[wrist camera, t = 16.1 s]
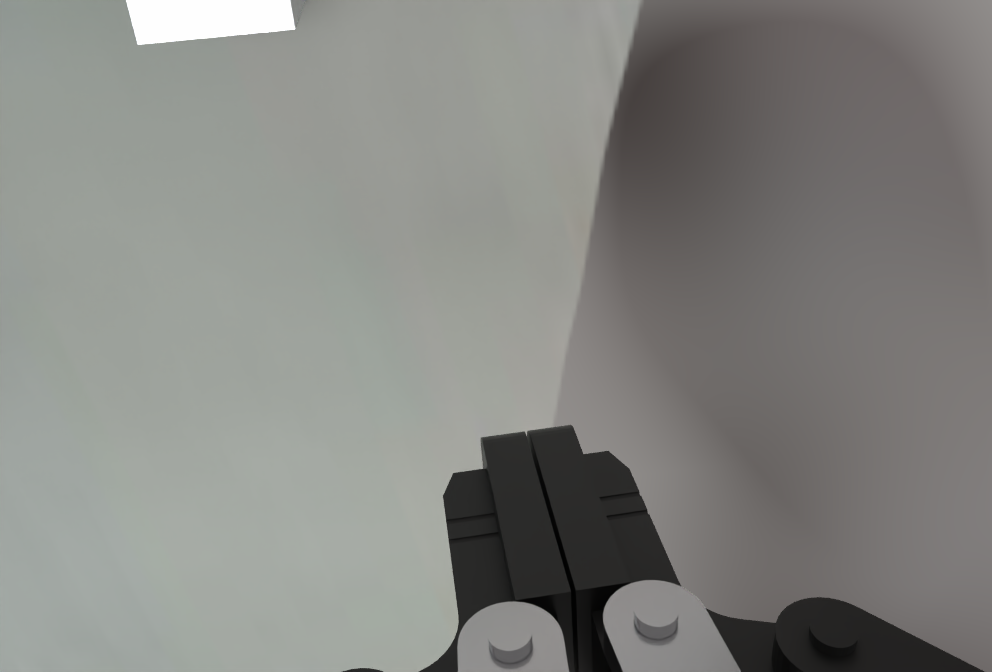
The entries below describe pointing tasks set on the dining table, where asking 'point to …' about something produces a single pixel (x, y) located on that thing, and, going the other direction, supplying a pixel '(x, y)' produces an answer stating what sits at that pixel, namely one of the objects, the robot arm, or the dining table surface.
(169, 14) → the sliding jaw
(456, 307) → the dining table surface
